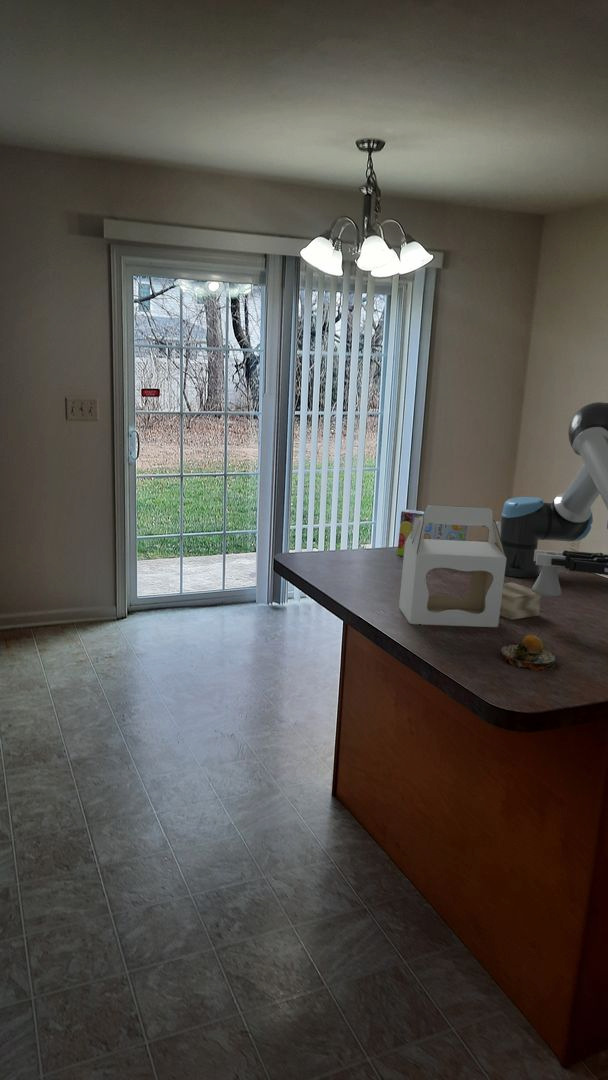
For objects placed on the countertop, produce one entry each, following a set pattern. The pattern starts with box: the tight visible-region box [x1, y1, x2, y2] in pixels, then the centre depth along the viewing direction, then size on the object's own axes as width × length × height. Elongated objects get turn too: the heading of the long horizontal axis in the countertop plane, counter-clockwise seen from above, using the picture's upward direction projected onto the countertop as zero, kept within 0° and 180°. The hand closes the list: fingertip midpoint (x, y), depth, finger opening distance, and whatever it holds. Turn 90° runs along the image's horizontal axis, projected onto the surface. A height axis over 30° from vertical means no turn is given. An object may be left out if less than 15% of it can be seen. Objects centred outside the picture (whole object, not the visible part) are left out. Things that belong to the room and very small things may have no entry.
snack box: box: [396, 509, 468, 557], centre depth 252 cm, size 21×6×15 cm, turn 65°
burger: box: [498, 634, 557, 671], centre depth 165 cm, size 12×12×8 cm
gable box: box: [398, 504, 507, 628], centre depth 189 cm, size 22×13×28 cm, turn 95°
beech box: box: [499, 582, 542, 620], centre depth 200 cm, size 10×10×6 cm
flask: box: [530, 551, 562, 597], centre depth 189 cm, size 7×7×10 cm
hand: (535, 557), depth 188 cm, fingers closed on flask, 3 cm apart
